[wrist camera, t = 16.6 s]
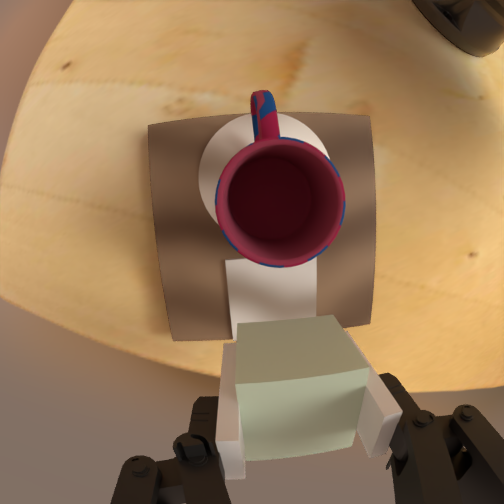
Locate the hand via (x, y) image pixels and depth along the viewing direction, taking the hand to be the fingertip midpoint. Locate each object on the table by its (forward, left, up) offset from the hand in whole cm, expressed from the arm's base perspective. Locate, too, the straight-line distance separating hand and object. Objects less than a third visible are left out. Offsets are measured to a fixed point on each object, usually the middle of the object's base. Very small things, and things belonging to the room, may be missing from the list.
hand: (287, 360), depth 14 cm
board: (-6, 0, -10) cm, 12 cm away
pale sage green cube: (0, 0, 0) cm, 1 cm away
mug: (-10, 0, -9) cm, 13 cm away
